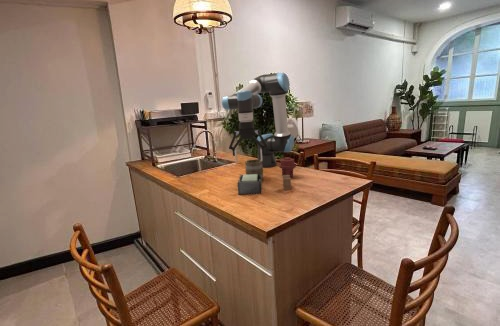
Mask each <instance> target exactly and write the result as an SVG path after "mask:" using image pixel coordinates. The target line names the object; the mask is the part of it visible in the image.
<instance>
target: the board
mask: <svg viewBox="0 0 500 326" xmlns="http://www.w3.org/2000/svg"><path fill="white" fill-rule="evenodd" d="M242 175H243V178H242V182H257V180H258V174H249V175H246V174H242Z"/></svg>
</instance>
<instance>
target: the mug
mask: <svg viewBox="0 0 500 326" xmlns="http://www.w3.org/2000/svg"><path fill="white" fill-rule="evenodd" d="M244 163H245V175H248V174H261V181H262V182H263V181H264V169H263V167H262V163H263V161H261V160H257V159H248V160H245V161H244Z"/></svg>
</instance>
